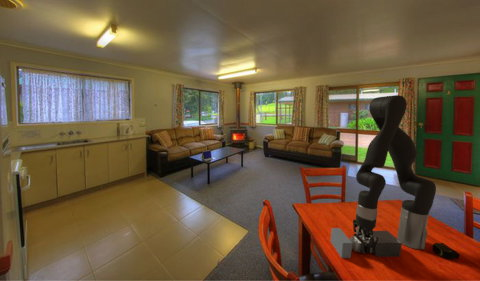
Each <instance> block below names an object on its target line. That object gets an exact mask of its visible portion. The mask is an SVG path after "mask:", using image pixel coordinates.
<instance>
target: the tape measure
mask: <svg viewBox="0 0 480 281" xmlns="http://www.w3.org/2000/svg"><path fill="white" fill-rule="evenodd" d="M431 248H432V251H433V252H434V253H435V254H437V255H438V256H440V257H441V258H445V259H448V260H454V259H455V260H457V259H460V254H459V253H458V252H457V251H456V250H454V249H453V248H451V247H450V246H448V245H446V243H443V242H440V243H439V242H434V243H432V247H431Z"/></svg>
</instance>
